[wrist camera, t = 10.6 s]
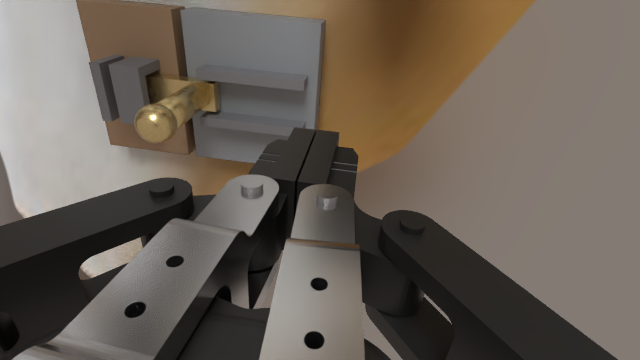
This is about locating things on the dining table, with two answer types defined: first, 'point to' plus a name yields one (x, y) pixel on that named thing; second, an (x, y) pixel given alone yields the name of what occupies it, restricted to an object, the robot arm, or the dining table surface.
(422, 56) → the dining table surface
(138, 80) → the door edge model
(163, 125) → the bolt
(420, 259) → the robot arm
